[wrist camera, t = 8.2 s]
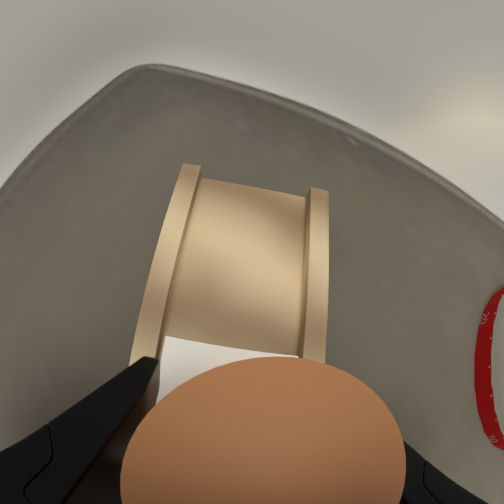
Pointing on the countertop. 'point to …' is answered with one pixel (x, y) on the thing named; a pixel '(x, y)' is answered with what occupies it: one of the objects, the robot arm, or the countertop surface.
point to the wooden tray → (238, 270)
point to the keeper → (261, 433)
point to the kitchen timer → (491, 370)
